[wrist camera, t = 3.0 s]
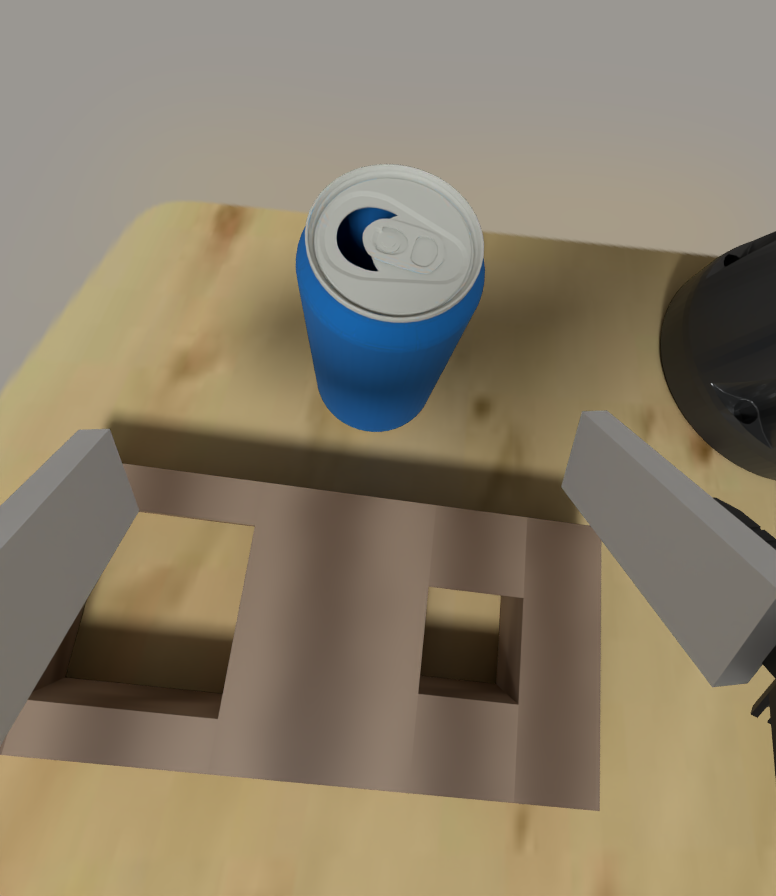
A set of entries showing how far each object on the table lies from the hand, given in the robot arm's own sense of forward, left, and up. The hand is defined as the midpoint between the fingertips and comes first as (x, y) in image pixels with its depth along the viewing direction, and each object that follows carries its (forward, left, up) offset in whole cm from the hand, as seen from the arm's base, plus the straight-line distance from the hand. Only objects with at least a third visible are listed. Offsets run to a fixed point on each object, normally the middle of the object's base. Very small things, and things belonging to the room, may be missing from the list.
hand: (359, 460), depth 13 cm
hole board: (+1, +6, -11) cm, 13 cm away
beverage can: (0, -7, -11) cm, 13 cm away
